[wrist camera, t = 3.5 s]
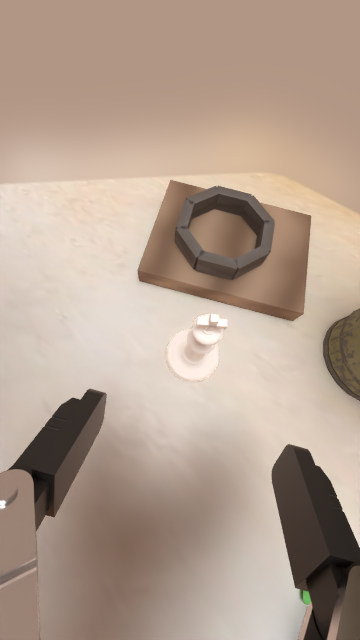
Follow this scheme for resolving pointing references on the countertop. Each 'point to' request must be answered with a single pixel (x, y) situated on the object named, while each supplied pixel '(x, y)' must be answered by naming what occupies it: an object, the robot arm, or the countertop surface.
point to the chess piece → (196, 348)
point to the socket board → (229, 250)
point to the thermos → (344, 353)
